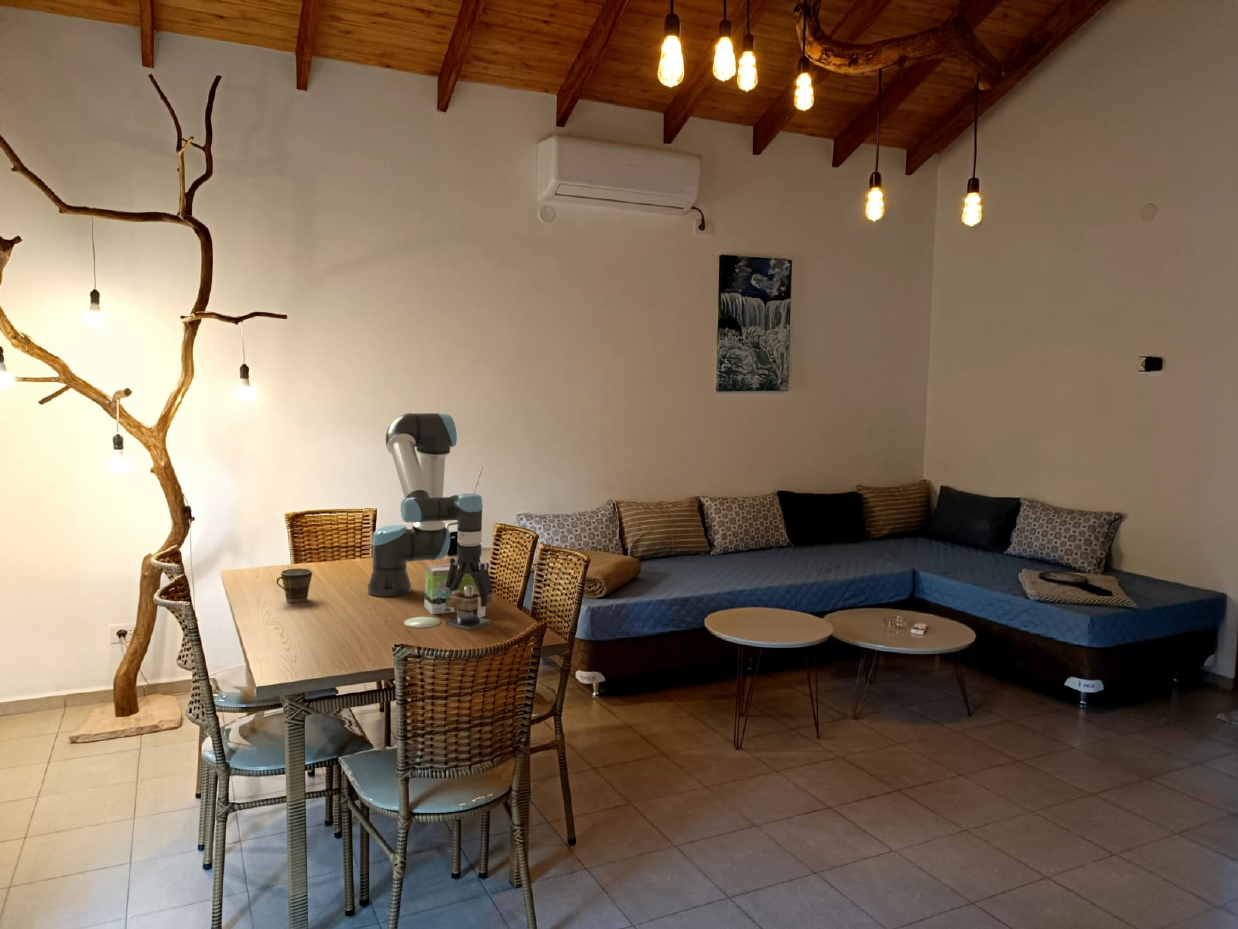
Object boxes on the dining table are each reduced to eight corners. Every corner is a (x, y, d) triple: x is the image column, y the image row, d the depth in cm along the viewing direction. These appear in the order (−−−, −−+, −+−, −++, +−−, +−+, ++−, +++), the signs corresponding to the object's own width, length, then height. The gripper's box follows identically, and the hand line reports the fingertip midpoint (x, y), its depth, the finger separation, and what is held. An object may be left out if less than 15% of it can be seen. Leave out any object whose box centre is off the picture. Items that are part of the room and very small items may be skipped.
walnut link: (445, 605, 269) (445, 596, 269) (467, 599, 278) (467, 590, 277) (469, 611, 264) (469, 601, 264) (491, 604, 272) (491, 595, 272)
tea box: (432, 615, 280) (432, 570, 278) (424, 608, 288) (424, 564, 287) (476, 611, 286) (477, 567, 285) (467, 603, 295) (468, 561, 294)
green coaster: (396, 623, 269) (396, 622, 269) (422, 616, 278) (422, 614, 278) (422, 630, 263) (422, 628, 263) (447, 622, 273) (447, 620, 273)
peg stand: (445, 624, 270) (445, 587, 269) (467, 617, 278) (467, 581, 277) (469, 630, 265) (470, 592, 263) (490, 623, 273) (491, 585, 272)
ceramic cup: (298, 595, 300) (298, 567, 299) (318, 599, 295) (318, 570, 294) (267, 603, 288) (266, 573, 287) (287, 607, 283) (287, 578, 282)
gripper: (434, 540, 272) (433, 610, 274) (489, 550, 260) (488, 622, 262) (450, 537, 278) (449, 605, 280) (505, 546, 266) (504, 617, 268)
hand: (468, 613), depth 271 cm, fingers closed on walnut link, 10 cm apart
